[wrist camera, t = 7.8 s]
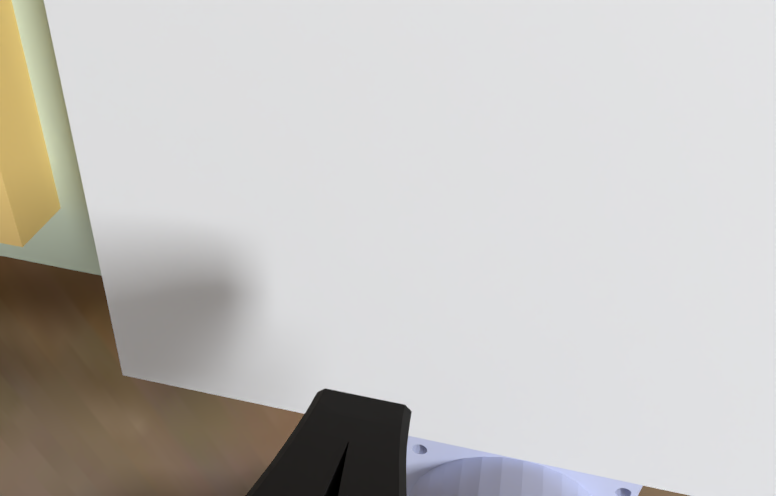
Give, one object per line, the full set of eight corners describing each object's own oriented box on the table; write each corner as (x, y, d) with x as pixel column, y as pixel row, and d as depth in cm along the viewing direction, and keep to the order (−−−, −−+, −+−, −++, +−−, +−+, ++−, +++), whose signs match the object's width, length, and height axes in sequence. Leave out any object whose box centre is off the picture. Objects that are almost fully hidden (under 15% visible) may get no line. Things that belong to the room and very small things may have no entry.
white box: (893, 425, 21) (948, 550, 18) (181, 284, 24) (122, 374, 21) (1299, -81, 13) (1534, -7, 10) (118, -227, 15) (1, -204, 12)
